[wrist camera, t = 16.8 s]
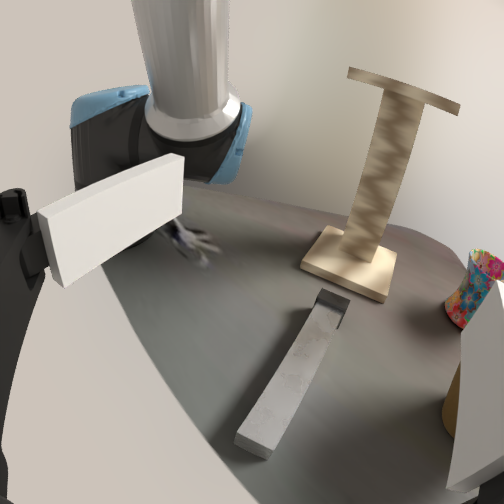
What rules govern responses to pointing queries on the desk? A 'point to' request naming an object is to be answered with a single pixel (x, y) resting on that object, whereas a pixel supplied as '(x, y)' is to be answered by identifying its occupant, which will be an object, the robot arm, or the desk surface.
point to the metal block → (291, 378)
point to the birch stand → (374, 193)
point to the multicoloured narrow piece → (474, 286)
